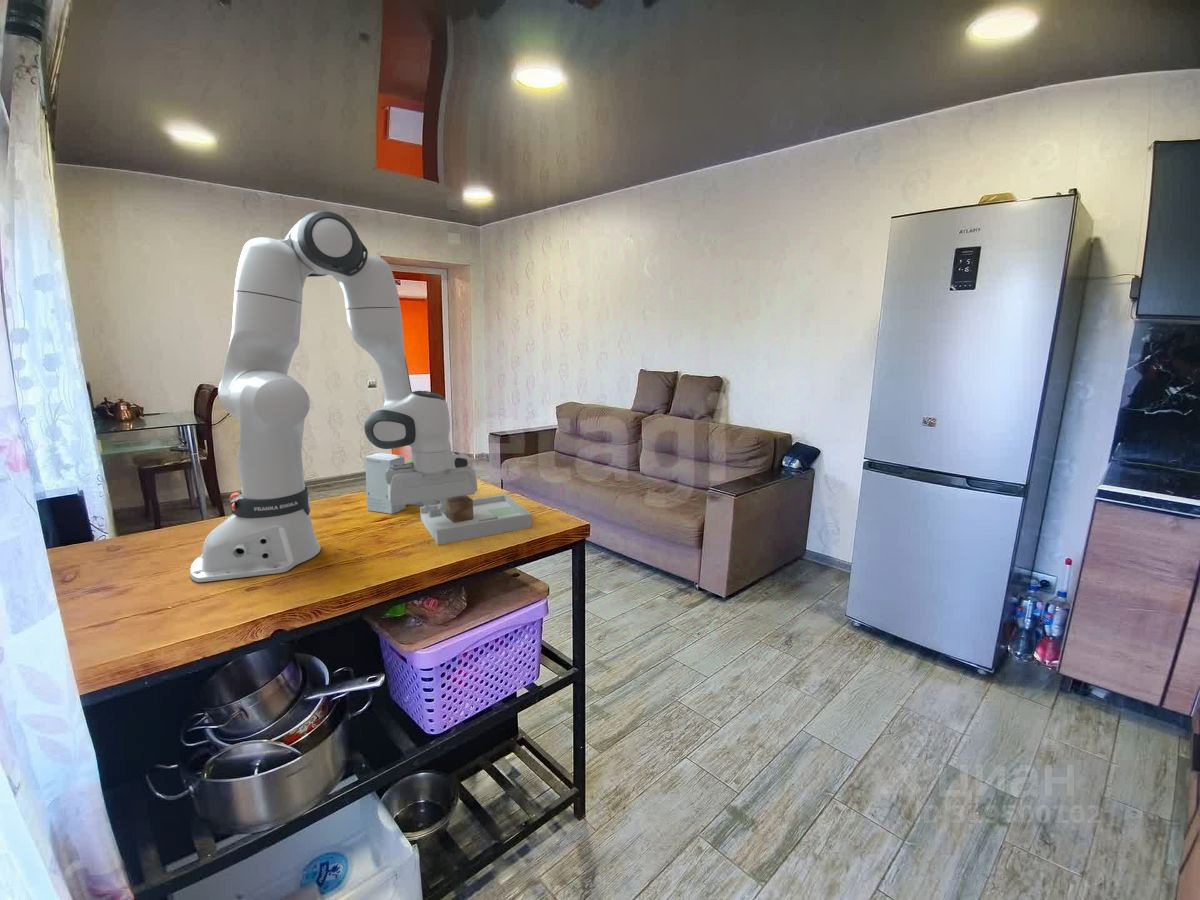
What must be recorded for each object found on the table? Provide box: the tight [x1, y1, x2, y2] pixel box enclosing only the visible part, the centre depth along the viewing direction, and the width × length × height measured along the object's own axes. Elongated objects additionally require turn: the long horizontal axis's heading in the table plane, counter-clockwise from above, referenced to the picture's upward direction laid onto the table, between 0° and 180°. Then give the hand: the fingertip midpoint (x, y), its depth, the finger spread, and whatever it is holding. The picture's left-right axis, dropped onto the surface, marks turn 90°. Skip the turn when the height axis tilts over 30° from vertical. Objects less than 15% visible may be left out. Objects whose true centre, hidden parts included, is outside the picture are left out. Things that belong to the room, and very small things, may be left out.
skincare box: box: [364, 452, 406, 515], centre depth 136 cm, size 8×6×15 cm
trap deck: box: [419, 493, 533, 545], centre depth 129 cm, size 23×18×4 cm
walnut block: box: [446, 495, 473, 523], centre depth 126 cm, size 5×5×5 cm
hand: (435, 516), depth 124 cm, fingers closed
